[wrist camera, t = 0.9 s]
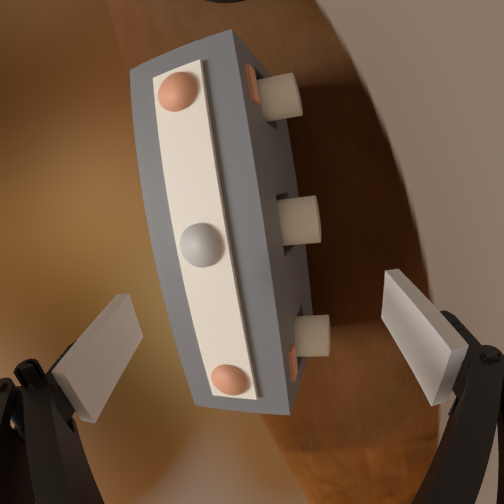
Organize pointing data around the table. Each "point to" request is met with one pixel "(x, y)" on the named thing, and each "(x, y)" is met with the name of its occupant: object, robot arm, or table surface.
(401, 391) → the table surface
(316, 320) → the button
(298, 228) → the button middle
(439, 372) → the robot arm
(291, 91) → the button
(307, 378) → the table surface
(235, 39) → the button panel
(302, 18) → the table surface
